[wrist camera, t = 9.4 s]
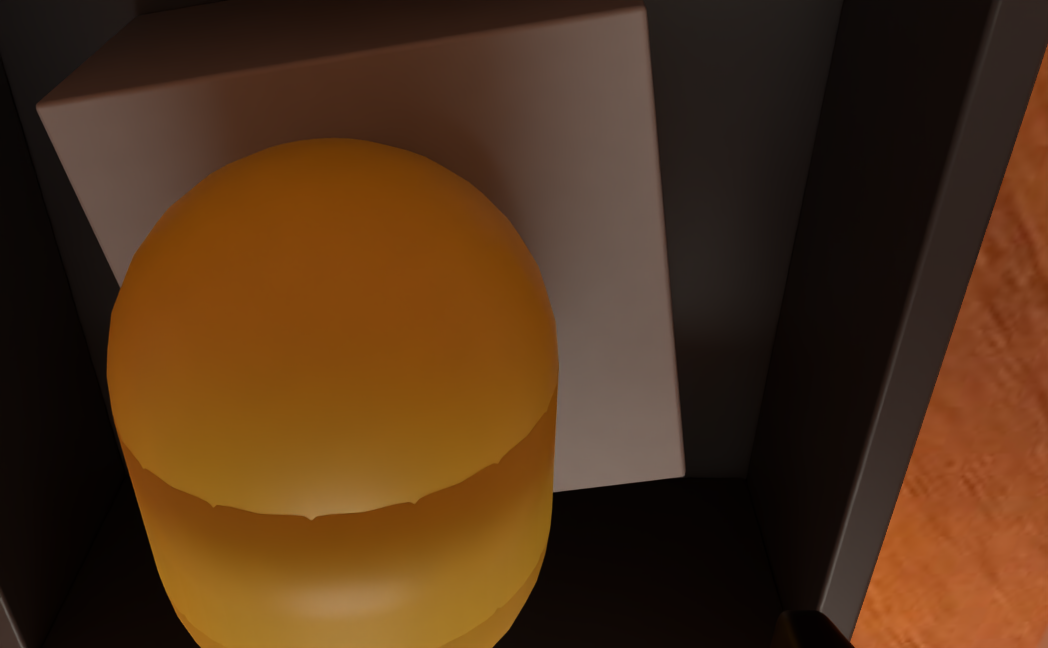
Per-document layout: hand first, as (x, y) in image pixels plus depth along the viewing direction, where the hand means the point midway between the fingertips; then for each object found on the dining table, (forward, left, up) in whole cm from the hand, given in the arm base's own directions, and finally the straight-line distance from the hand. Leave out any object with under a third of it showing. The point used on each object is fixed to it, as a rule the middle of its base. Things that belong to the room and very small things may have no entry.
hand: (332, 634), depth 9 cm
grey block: (0, 0, -10) cm, 10 cm away
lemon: (0, 0, -6) cm, 6 cm away
